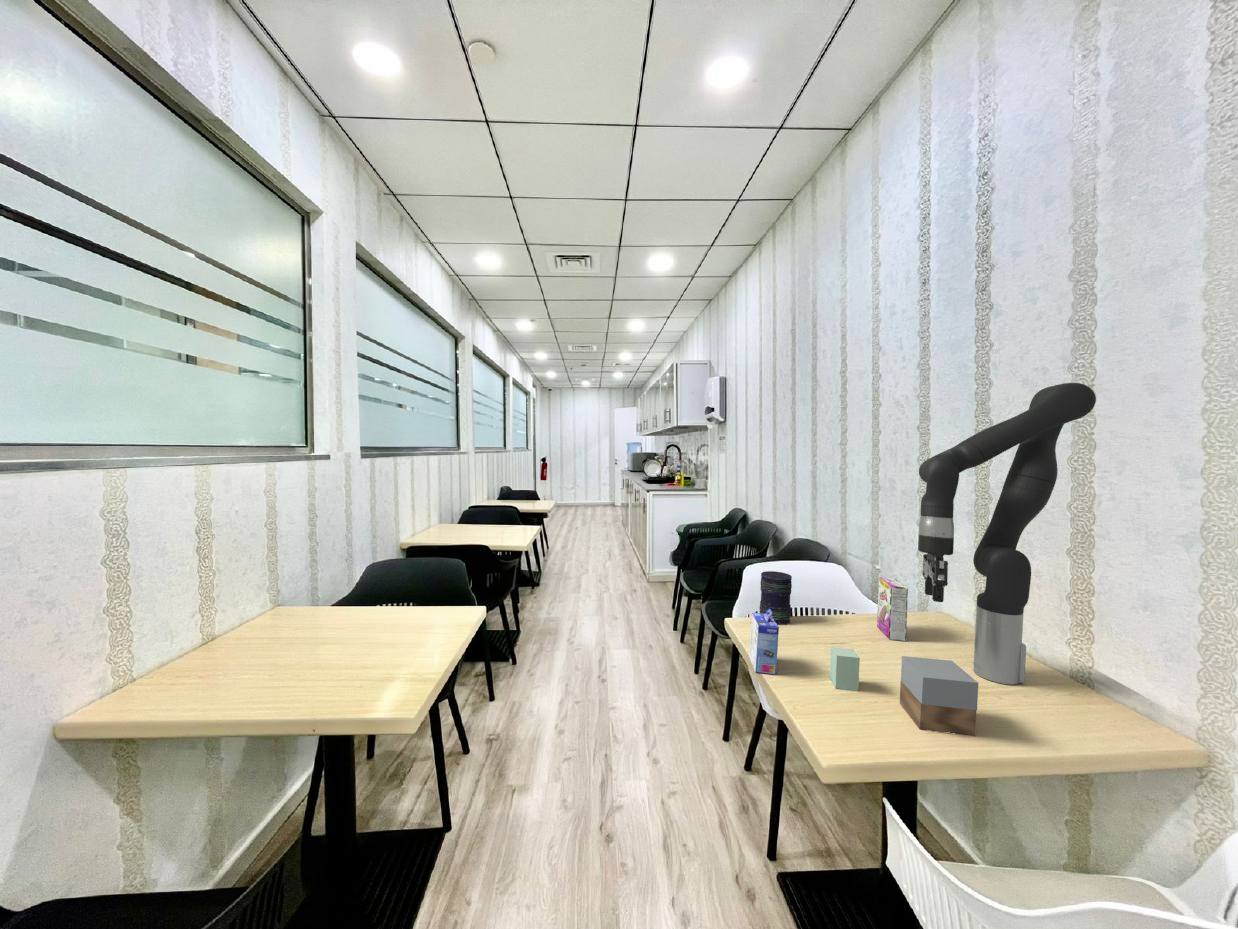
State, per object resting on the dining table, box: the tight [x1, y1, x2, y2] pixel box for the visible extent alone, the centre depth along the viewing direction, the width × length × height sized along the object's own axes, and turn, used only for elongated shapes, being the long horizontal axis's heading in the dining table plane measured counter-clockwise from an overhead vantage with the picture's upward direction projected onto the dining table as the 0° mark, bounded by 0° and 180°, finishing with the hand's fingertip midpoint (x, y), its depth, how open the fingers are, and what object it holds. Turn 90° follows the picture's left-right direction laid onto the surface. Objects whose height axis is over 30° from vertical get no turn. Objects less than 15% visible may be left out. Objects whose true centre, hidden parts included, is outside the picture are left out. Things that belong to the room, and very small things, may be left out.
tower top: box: [900, 655, 979, 711], centre depth 98 cm, size 10×10×6 cm
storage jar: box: [759, 570, 793, 626], centre depth 155 cm, size 10×10×15 cm
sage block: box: [829, 646, 861, 692], centre depth 112 cm, size 5×5×8 cm
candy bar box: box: [876, 576, 909, 642], centre depth 145 cm, size 11×5×16 cm, turn 168°
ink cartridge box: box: [748, 609, 780, 675], centre depth 121 cm, size 10×6×14 cm, turn 174°
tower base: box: [899, 680, 978, 737], centre depth 98 cm, size 10×10×6 cm
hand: (933, 598), depth 119 cm, fingers open, 8 cm apart
